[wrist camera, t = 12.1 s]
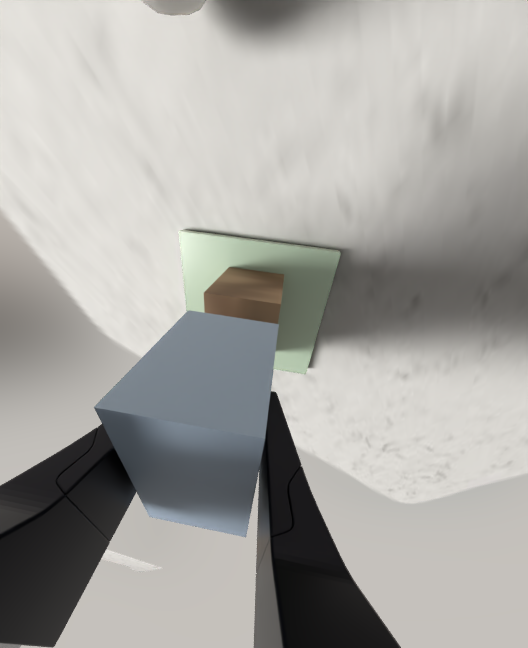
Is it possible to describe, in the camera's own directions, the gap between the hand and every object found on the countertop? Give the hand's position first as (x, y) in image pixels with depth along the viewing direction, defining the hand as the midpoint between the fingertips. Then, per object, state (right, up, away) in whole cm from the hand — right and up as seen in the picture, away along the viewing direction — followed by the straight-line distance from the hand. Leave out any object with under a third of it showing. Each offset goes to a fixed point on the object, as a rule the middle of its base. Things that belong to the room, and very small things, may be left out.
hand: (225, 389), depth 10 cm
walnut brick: (+1, +4, +7) cm, 8 cm away
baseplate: (+1, +4, +7) cm, 9 cm away
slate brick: (0, 0, +1) cm, 1 cm away
